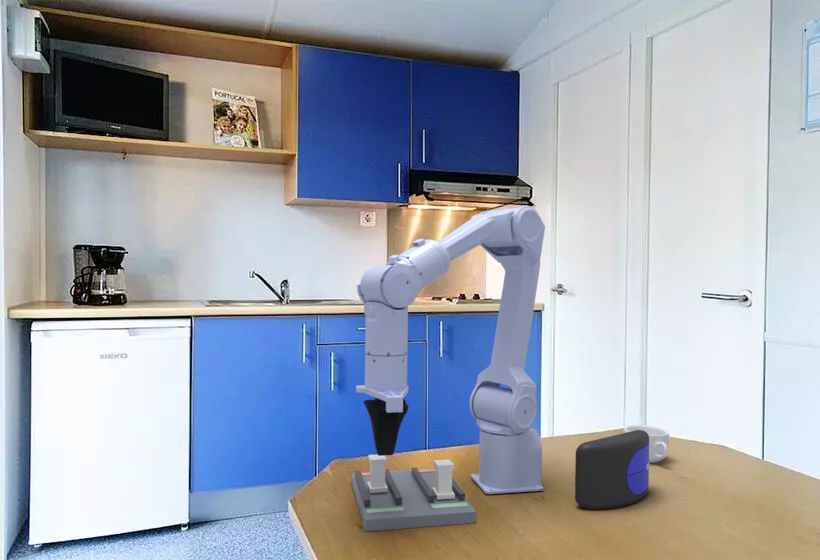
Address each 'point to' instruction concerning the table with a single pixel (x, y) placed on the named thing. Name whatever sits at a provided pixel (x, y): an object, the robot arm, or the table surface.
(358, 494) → the panel
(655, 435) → the teacup
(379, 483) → the breaker
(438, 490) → the breaker
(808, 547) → the table surface
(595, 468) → the leaning round-cornered charcoal block
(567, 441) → the table surface
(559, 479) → the table surface
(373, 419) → the robot arm
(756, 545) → the table surface
